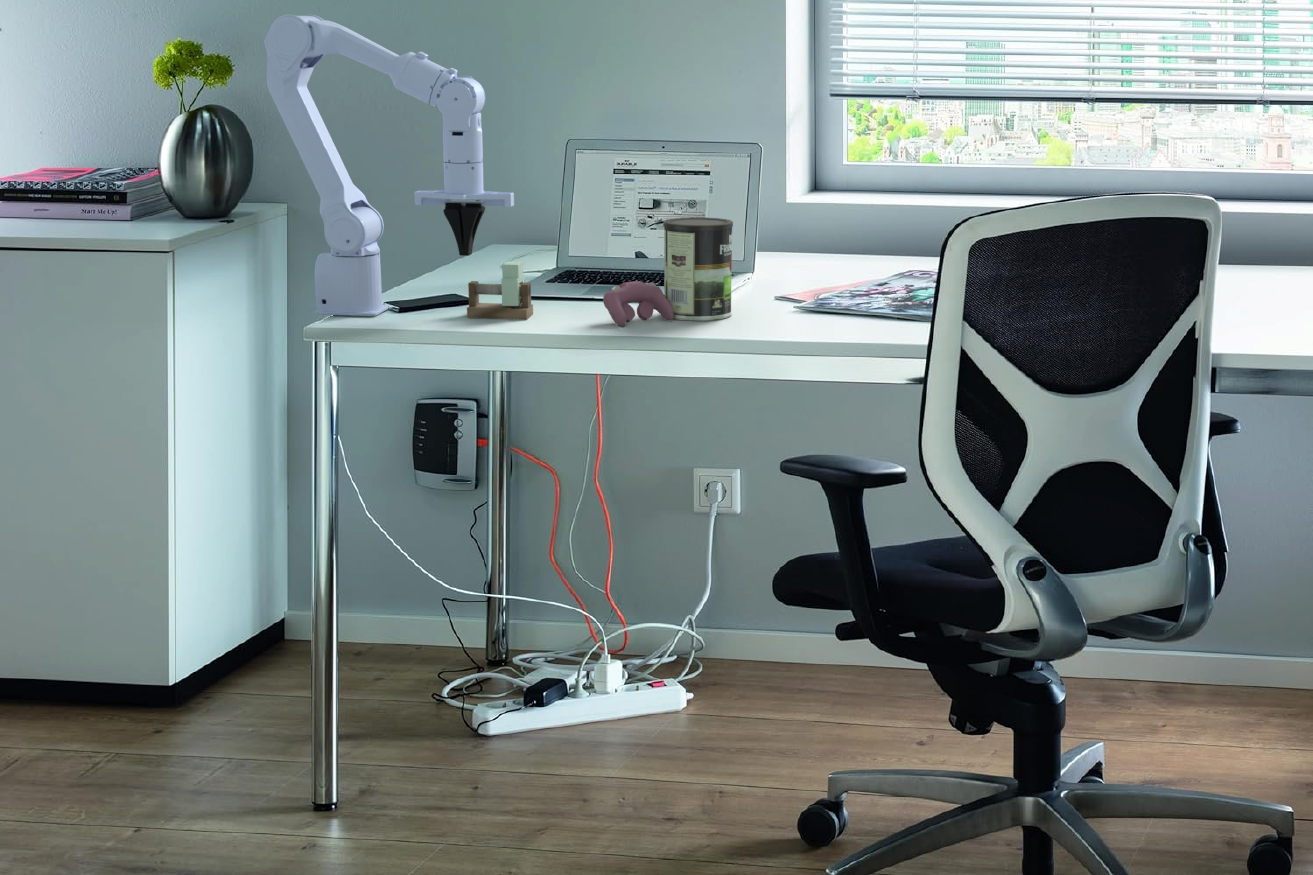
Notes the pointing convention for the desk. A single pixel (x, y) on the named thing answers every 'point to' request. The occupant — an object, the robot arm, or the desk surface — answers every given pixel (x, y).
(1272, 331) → the desk surface
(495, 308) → the rod stand
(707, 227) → the coffee can
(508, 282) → the mint green stepped block
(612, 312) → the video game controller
